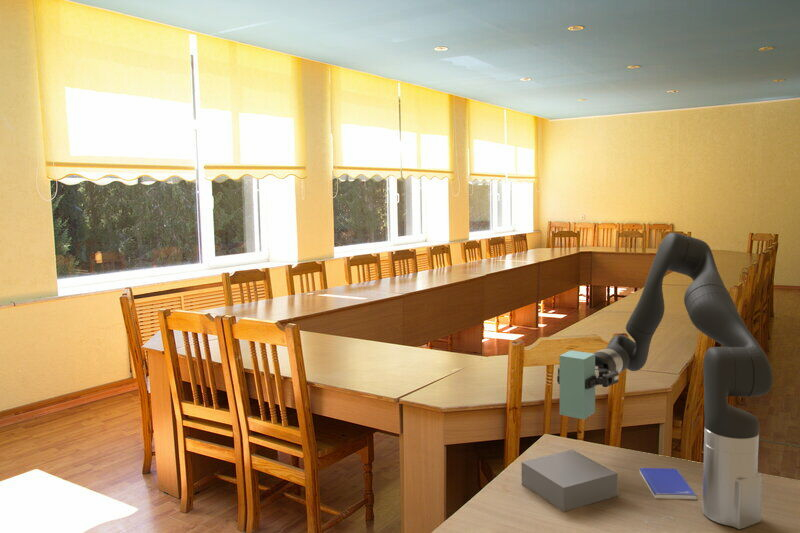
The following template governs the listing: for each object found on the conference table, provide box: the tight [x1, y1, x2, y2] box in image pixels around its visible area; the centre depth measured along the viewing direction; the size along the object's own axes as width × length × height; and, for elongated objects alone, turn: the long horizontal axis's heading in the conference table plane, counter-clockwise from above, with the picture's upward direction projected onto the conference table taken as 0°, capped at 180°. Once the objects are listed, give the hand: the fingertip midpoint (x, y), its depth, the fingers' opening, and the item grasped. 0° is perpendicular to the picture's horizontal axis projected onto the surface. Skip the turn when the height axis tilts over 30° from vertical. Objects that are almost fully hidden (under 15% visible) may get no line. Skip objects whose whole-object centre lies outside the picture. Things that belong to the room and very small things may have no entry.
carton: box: [558, 350, 596, 421], centre depth 147 cm, size 6×6×14 cm
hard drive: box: [639, 467, 697, 500], centre depth 136 cm, size 2×8×12 cm
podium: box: [521, 449, 618, 513], centre depth 135 cm, size 14×14×5 cm
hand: (572, 382), depth 145 cm, fingers closed on carton, 6 cm apart
